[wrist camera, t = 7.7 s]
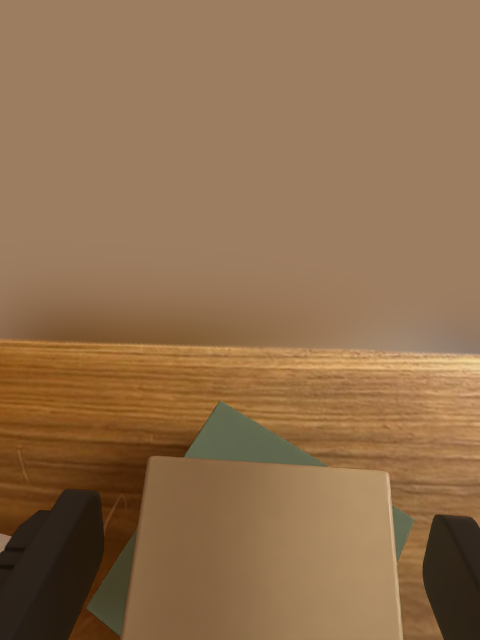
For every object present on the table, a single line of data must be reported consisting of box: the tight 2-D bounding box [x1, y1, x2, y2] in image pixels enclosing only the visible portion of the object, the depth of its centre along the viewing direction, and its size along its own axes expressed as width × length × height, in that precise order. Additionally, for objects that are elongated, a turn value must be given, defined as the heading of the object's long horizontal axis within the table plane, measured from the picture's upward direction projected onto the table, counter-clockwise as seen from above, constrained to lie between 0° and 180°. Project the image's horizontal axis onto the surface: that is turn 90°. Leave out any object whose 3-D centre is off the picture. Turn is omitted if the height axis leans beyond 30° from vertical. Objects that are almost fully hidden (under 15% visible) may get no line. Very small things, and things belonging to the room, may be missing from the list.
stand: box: [86, 401, 414, 637], centre depth 19 cm, size 9×9×7 cm
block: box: [120, 456, 403, 640], centre depth 11 cm, size 4×4×10 cm
